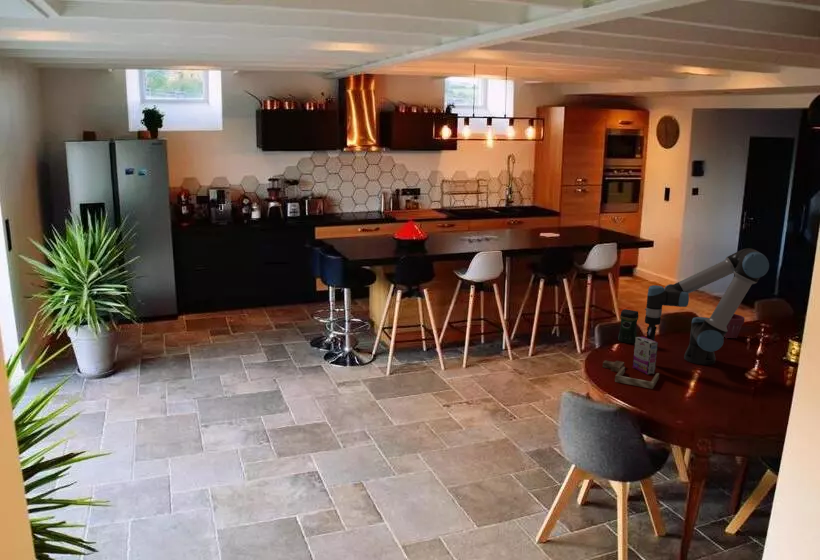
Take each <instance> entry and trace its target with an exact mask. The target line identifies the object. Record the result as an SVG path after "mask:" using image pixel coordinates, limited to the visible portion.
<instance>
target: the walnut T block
mask: <svg viewBox="0 0 820 560" xmlns="http://www.w3.org/2000/svg"><path fill="white" fill-rule="evenodd" d="M622 367H625V362H624V361H620V360H615V361H609V360H603V362H602V368H605V369H610V371H611V372H616V373H618V372H619V371H620V369H621V368H622Z"/></svg>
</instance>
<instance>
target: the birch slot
mask: <svg viewBox="0 0 820 560" xmlns="http://www.w3.org/2000/svg"><path fill="white" fill-rule="evenodd" d="M625 373H626V367H625V366H624V367H622V368H621V369H620V371H619V372H616V374H615V376H614V382H615V383H621V384H625V385H630V386H636V387H641V388H646V389H650V390H653V389H654V388H655V386H656V385H657V382H658V381H659V380H660V373H659V372H655V375H654V376H653V378H652V379H651V381H650V380H644V379H638V378H633V377H628V376H624V375H625Z"/></svg>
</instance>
